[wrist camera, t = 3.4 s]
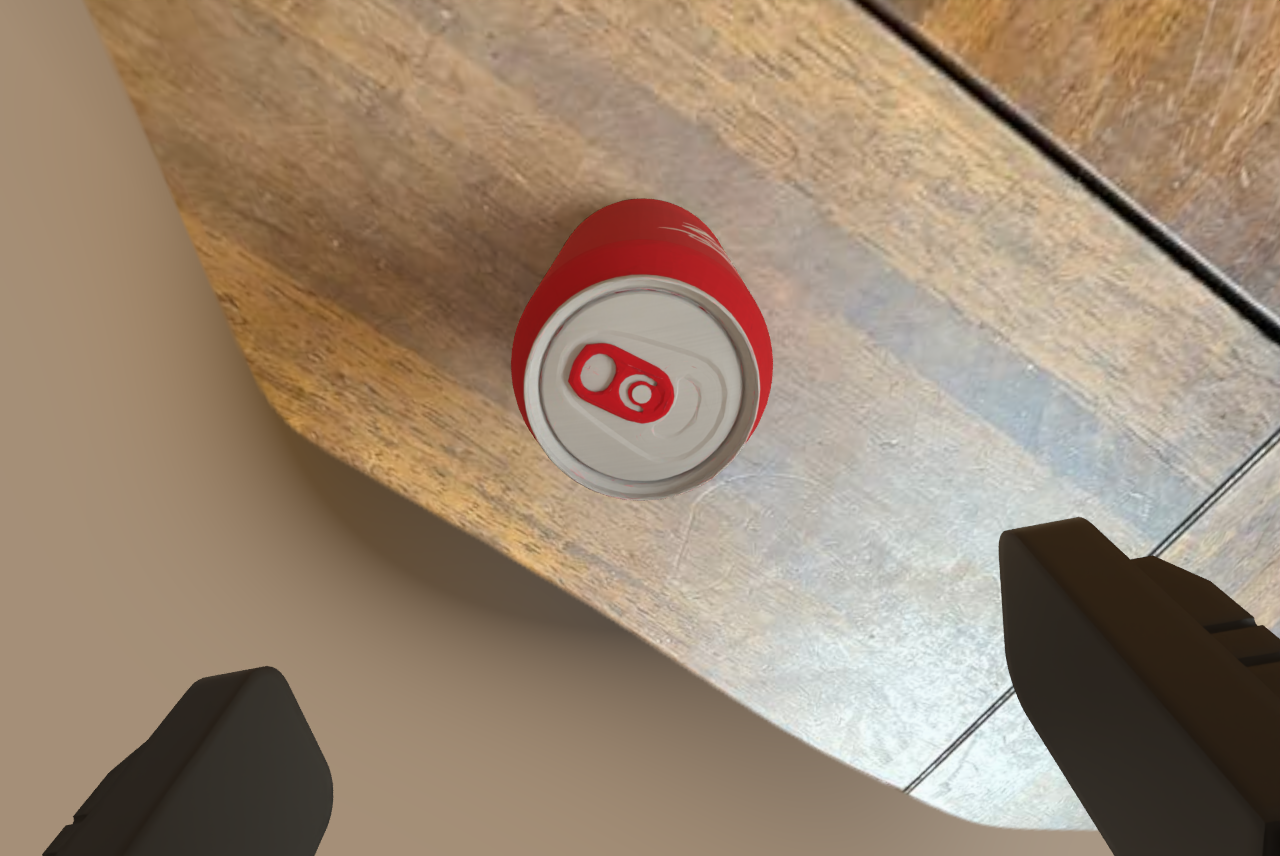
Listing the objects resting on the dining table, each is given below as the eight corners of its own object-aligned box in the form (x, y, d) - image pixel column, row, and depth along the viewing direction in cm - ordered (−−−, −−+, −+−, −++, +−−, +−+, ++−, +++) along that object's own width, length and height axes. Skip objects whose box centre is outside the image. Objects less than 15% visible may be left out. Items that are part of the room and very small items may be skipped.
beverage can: (678, 395, 30) (697, 564, 19) (528, 322, 29) (454, 454, 18) (761, 246, 28) (839, 335, 16) (603, 162, 27) (572, 196, 15)
